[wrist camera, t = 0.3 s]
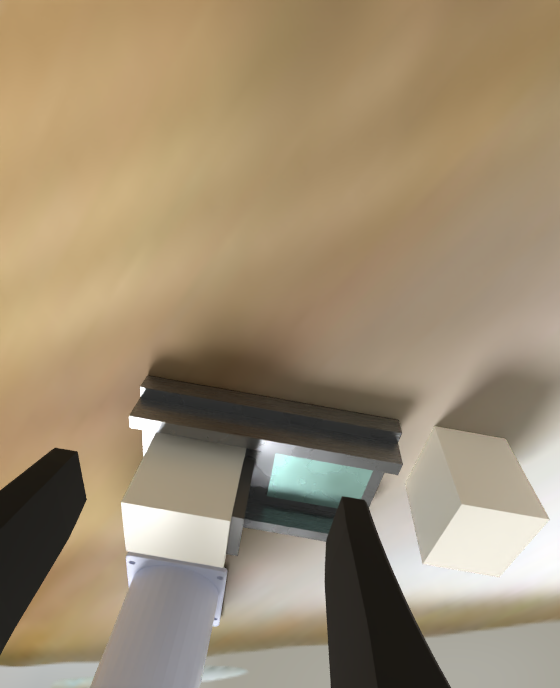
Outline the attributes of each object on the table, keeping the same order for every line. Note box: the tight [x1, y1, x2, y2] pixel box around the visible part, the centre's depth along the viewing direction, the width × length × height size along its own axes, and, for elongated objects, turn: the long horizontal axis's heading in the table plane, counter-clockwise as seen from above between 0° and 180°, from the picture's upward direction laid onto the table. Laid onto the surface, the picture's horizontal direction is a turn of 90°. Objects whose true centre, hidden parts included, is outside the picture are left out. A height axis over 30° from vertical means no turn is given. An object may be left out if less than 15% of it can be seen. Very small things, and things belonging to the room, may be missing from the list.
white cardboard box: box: [405, 426, 550, 577], centre depth 21 cm, size 4×6×5 cm
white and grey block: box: [121, 432, 255, 568], centre depth 21 cm, size 4×6×5 cm
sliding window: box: [129, 376, 403, 542], centre depth 23 cm, size 9×14×2 cm, turn 81°
